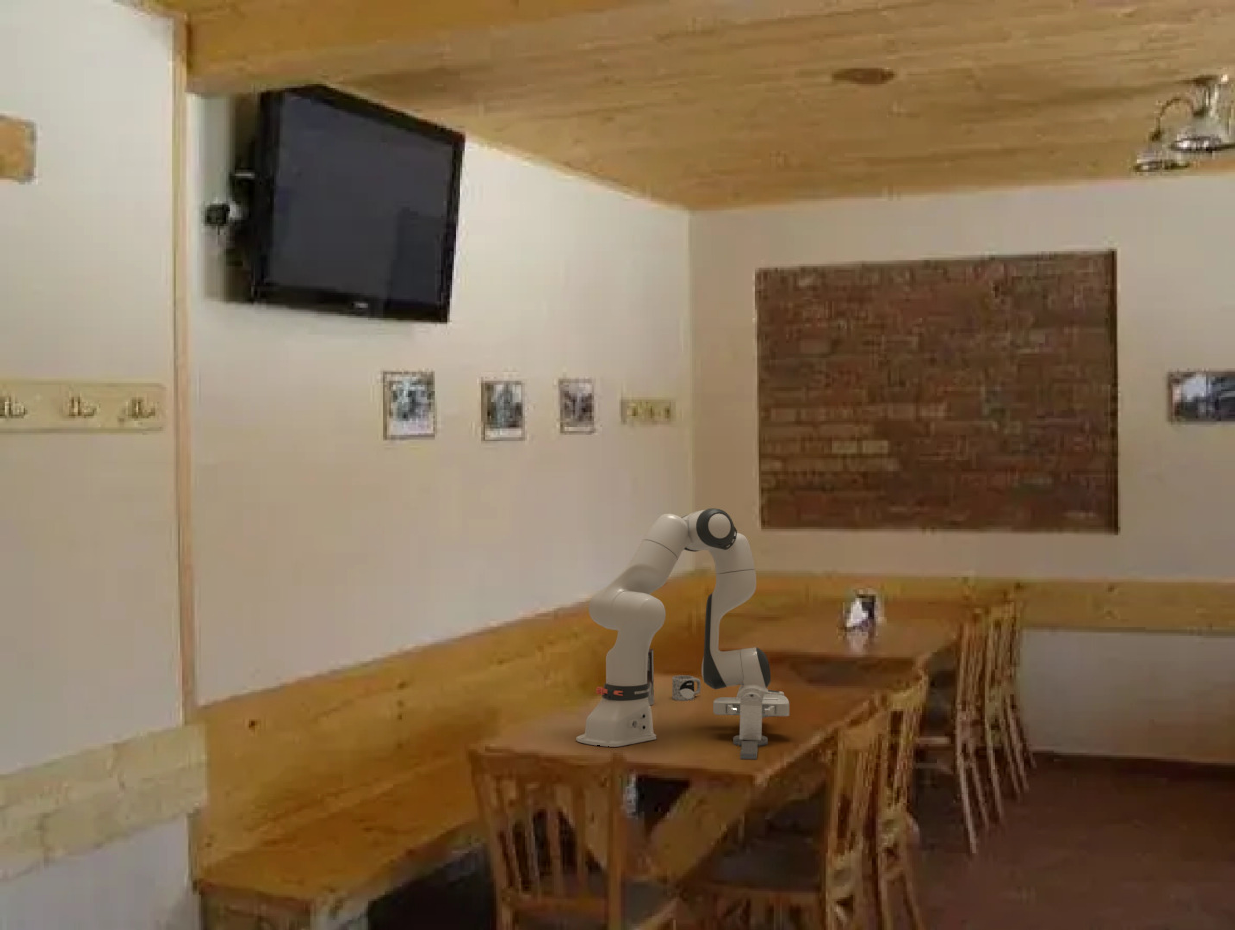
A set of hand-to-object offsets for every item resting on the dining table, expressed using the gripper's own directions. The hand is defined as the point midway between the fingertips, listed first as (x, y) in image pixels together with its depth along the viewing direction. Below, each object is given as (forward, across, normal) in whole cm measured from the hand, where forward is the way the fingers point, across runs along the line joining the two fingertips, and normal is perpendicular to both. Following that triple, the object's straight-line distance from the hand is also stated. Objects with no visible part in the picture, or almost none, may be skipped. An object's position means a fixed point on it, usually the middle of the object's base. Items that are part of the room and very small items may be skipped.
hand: (750, 712), depth 398 cm
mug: (-65, -21, +9) cm, 68 cm away
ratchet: (+6, 0, +8) cm, 10 cm away
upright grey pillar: (-1, 0, +7) cm, 7 cm away
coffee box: (-54, -35, +9) cm, 65 cm away
